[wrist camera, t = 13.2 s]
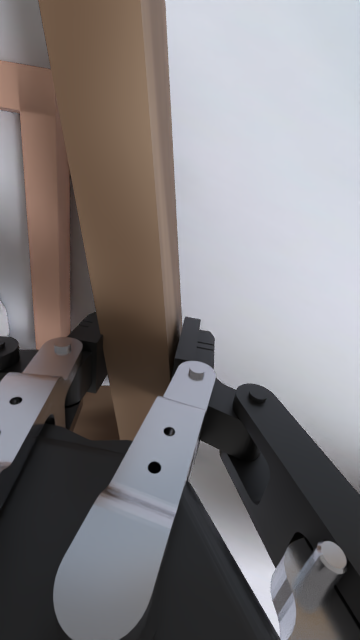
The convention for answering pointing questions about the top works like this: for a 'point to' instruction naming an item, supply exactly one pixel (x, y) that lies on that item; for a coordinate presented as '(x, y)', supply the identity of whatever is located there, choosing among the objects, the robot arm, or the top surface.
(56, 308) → the corral frame
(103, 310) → the wooden l-shaped bracket
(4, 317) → the white cup
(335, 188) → the top surface
